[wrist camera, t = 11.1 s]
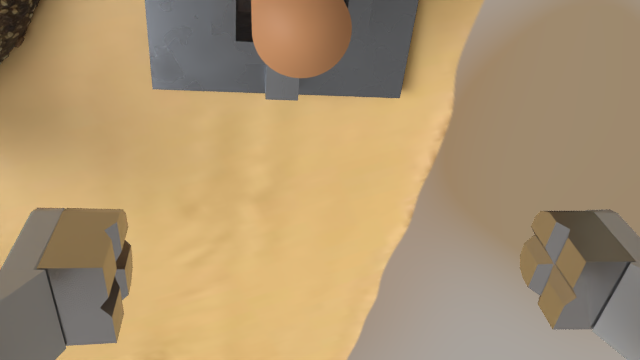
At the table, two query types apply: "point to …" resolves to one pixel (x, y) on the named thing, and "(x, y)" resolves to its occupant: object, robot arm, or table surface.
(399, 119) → the table surface
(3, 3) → the bread roll
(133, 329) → the table surface
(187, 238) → the table surface
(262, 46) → the rounded pin
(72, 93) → the table surface
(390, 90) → the hollow box on baseplate
